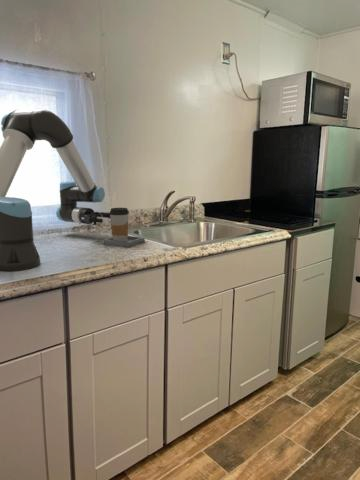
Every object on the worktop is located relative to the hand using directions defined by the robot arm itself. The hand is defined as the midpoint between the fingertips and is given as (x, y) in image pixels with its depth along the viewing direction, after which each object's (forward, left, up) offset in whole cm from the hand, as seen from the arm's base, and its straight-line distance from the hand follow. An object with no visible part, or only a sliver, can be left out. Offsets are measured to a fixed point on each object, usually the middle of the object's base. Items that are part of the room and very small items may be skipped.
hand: (119, 219), depth 166 cm
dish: (0, -3, -11) cm, 11 cm away
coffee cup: (-2, -2, -10) cm, 11 cm away
